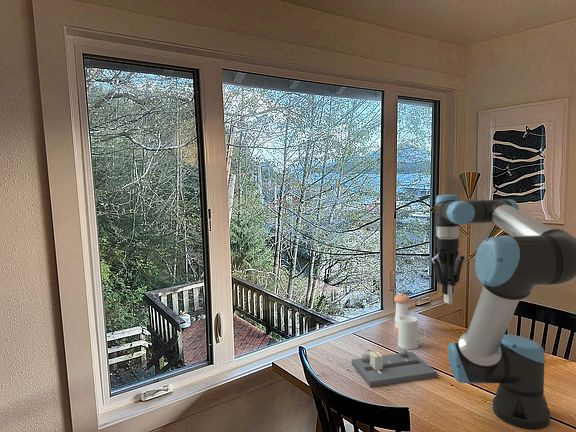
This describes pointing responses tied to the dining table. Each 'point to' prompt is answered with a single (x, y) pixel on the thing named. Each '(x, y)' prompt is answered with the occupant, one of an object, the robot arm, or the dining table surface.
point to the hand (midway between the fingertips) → (448, 302)
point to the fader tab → (376, 360)
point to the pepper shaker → (400, 308)
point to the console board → (394, 369)
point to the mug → (408, 332)
